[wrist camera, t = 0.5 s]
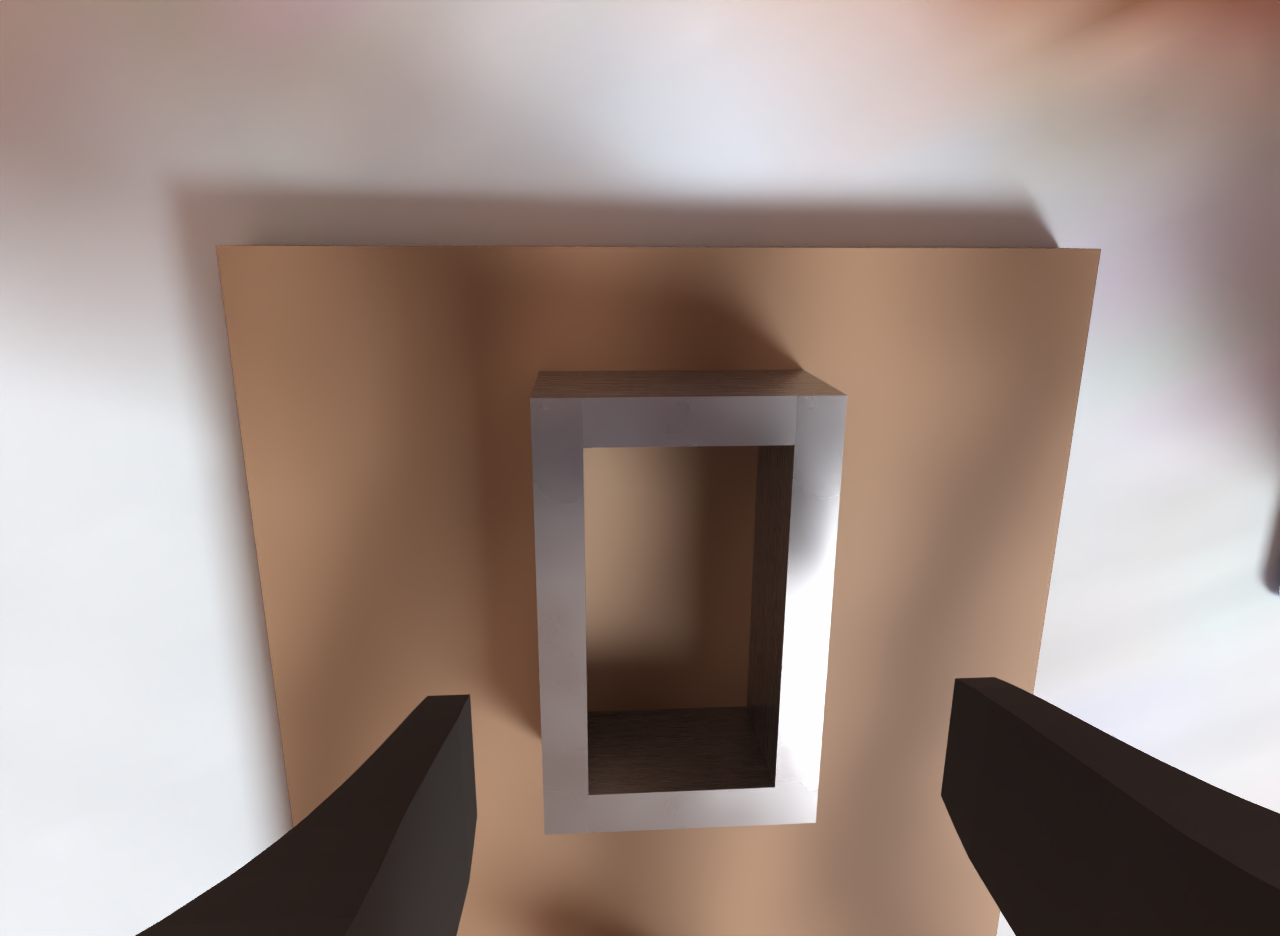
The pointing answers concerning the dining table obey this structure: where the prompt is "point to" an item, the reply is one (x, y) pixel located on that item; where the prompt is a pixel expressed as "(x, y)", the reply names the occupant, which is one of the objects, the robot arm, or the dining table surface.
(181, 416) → the dining table surface
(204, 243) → the dining table surface
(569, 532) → the silver rectangular frame
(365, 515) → the keeper board
